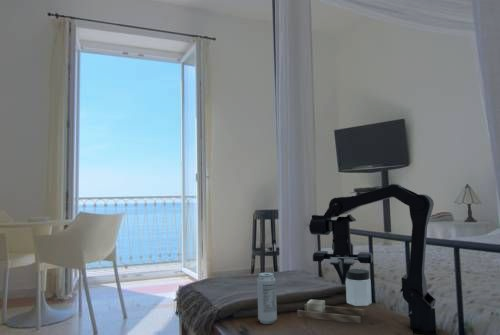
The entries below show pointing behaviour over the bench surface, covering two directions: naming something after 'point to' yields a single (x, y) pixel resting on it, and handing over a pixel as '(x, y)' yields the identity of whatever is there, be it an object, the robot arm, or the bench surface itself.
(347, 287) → the jar
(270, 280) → the energy drink can
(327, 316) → the chute
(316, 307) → the block
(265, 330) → the bench surface
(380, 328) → the bench surface
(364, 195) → the robot arm
